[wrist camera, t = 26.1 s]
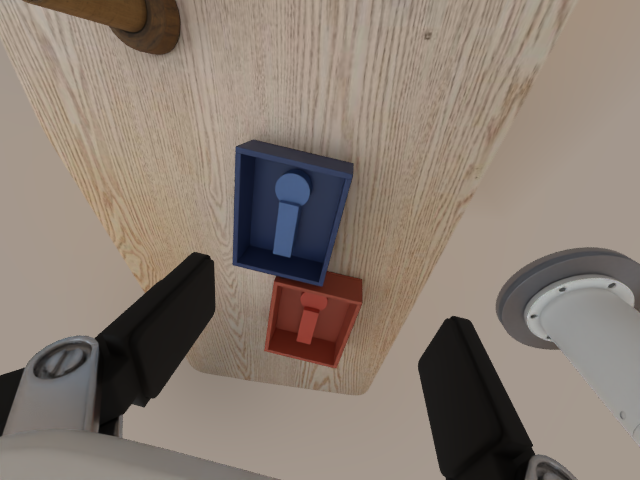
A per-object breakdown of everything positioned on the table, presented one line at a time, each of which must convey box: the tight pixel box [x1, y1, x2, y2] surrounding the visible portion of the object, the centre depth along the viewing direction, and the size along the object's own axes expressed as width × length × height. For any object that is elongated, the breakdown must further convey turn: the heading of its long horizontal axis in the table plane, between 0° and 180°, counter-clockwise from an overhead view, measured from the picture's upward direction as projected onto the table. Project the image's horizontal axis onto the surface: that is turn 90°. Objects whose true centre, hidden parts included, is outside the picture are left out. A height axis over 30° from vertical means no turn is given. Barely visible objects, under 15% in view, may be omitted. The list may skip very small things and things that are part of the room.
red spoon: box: [296, 292, 328, 344], centre depth 40 cm, size 11×4×3 cm, turn 168°
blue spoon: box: [273, 169, 313, 258], centre depth 32 cm, size 11×4×3 cm, turn 168°
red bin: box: [264, 271, 363, 368], centre depth 39 cm, size 15×12×5 cm
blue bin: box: [233, 140, 353, 287], centre depth 31 cm, size 15×12×5 cm
